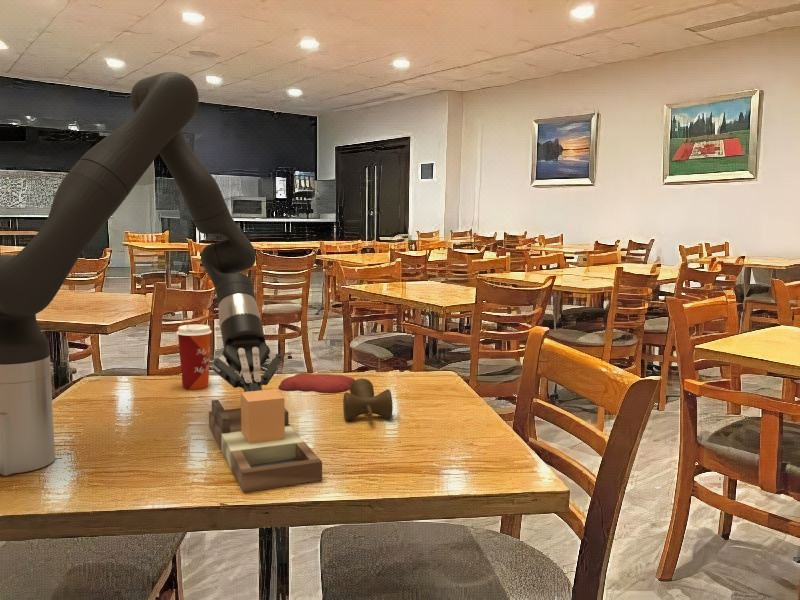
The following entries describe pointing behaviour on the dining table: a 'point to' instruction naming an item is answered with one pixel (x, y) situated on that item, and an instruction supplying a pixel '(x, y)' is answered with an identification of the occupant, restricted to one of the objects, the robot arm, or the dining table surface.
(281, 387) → the patty
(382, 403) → the kendama
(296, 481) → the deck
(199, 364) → the paper cup
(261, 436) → the block
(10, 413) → the robot arm
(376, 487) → the dining table surface
